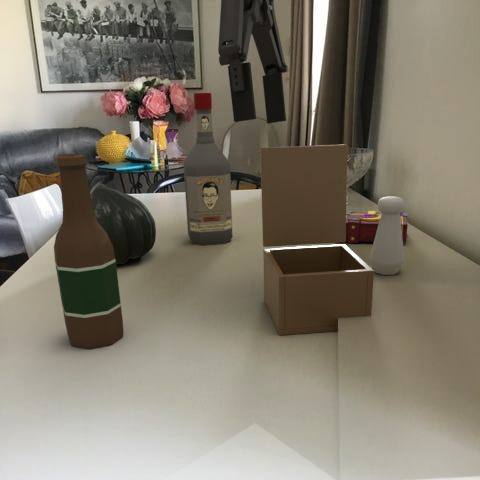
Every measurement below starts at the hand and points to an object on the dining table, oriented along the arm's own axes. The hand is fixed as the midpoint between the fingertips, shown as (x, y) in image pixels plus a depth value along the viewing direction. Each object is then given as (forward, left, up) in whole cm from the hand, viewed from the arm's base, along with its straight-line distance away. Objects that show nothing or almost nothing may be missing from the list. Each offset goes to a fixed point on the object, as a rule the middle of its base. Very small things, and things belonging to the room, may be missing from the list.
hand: (262, 121), depth 77 cm
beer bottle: (+21, +14, -27) cm, 37 cm away
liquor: (+16, -39, -27) cm, 50 cm away
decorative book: (-18, -42, -27) cm, 52 cm away
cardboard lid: (-6, -3, -11) cm, 13 cm away
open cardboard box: (-8, +4, -26) cm, 28 cm away
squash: (+31, -23, -27) cm, 47 cm away
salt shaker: (-20, -17, -27) cm, 37 cm away
